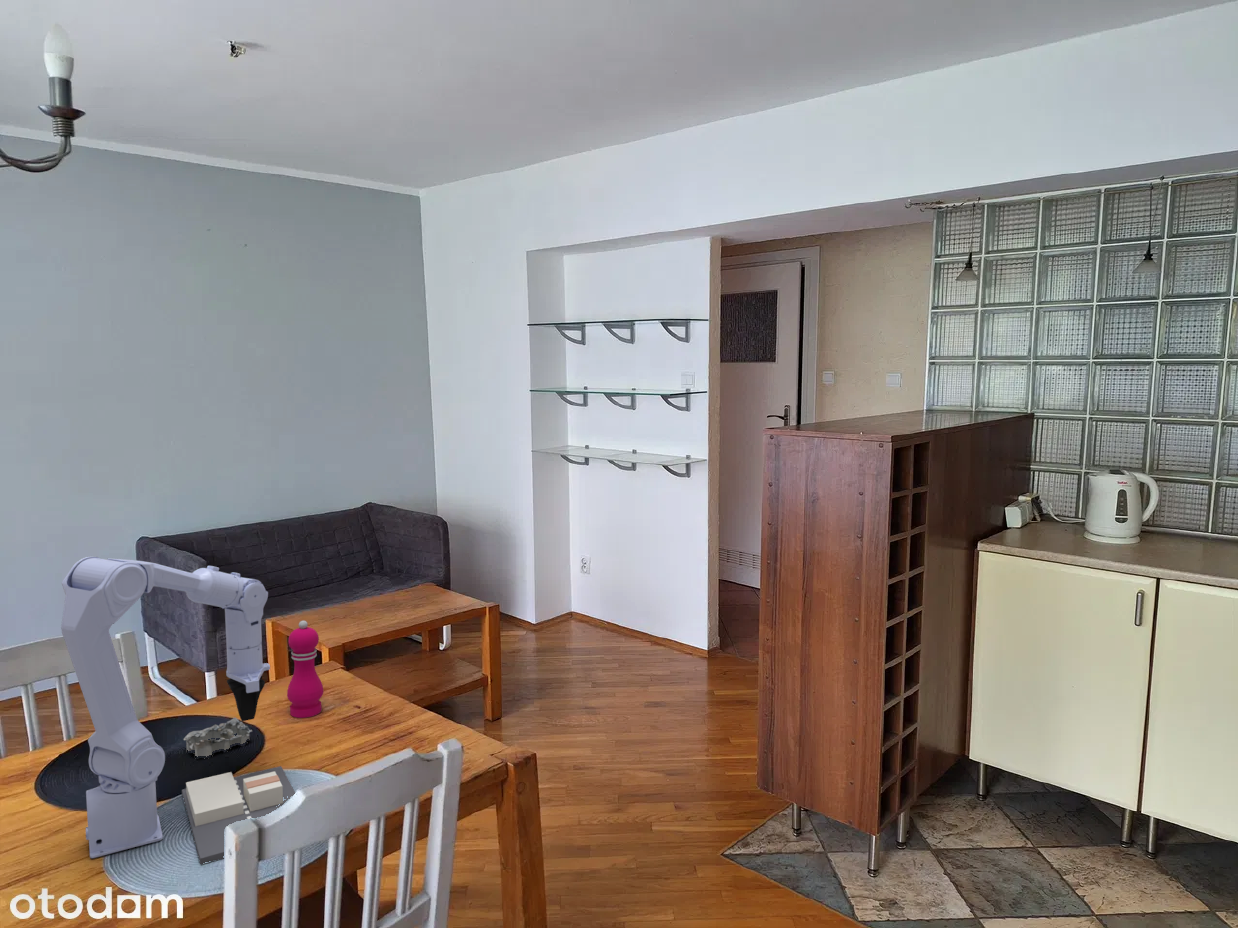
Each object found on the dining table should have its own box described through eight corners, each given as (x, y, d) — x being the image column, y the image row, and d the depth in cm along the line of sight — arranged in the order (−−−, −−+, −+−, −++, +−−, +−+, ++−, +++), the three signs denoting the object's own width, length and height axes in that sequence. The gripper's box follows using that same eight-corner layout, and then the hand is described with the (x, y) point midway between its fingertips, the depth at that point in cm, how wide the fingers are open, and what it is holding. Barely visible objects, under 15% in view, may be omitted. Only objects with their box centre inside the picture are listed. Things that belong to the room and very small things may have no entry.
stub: (250, 811, 134) (249, 792, 134) (243, 795, 139) (243, 777, 139) (283, 803, 137) (282, 784, 137) (275, 787, 142) (274, 770, 142)
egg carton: (197, 763, 153) (196, 742, 153) (181, 751, 158) (180, 730, 158) (254, 744, 161) (254, 724, 161) (237, 733, 166) (237, 713, 166)
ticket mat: (200, 864, 121) (199, 845, 121) (182, 795, 141) (181, 778, 141) (313, 832, 130) (313, 814, 130) (281, 771, 150) (280, 755, 150)
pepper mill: (286, 708, 178) (283, 617, 176) (322, 703, 181) (319, 614, 179) (288, 721, 172) (285, 627, 169) (325, 715, 175) (322, 623, 172)
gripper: (276, 651, 143) (279, 727, 144) (260, 630, 155) (263, 700, 156) (232, 659, 139) (235, 737, 140) (219, 636, 151) (222, 708, 152)
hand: (247, 718), depth 148 cm, fingers closed
